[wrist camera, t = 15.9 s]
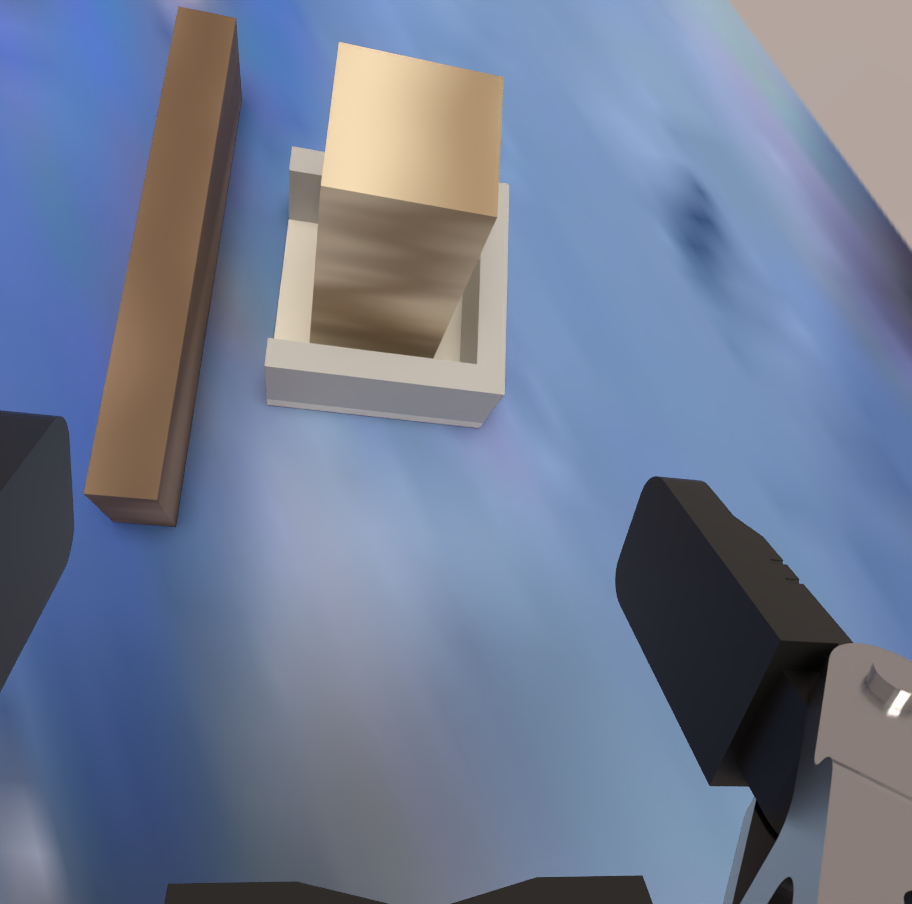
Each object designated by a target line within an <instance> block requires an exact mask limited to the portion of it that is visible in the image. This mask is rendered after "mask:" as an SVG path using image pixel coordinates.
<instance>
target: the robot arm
mask: <svg viewBox="0 0 912 904" xmlns="http://www.w3.org/2000/svg"><path fill="white" fill-rule="evenodd" d="M73 531H74V513H73V495H72V478H71V460H70V442H69V431H68V426H67V423H66V421H65V419H64V418H63V417H61V416H51V415H40V414H30V413H20V412H10V411H0V691H1V689H2V688H3V686H4V684H5V682H6V680H7V678H8V676H9V674H10V672H11V670H12V668H13V666H14V665H15V663H16V661H17V659H18V657H19V655H20V653H21V651H22V649H23V647H24V645H25V644H26V642H27V640H28V638H29V636H30V634H31V632H32V630H33V628H34V626H35V624H36V622H37V621H38V619H39V617H40V615H41V613H42V611H43V609H44V607H45V605H46V603H47V601H48V600H49V598H50V596H51V594H52V592H53V590H54V588H55V586H56V584H57V582H58V580H59V578H60V577H61V575H62V573H63V571H64V569H65V567H66V564H67V561H68V558H69V555H70V551H71V546H72V540H73ZM782 562H783V560H782V558H781V557H780V556H779V555H778V554H777V553H776V551H775V550H774V549H773V548H772V547H771V546H770V544H769V543H768V542H767V541H766V540H765V538H764V537H763V536H761V535H760V534H758V533H757V532H756V531H754V530H753V529H751V528H750V527H748V526H747V525H746V524H744V523H743V522H741V521H740V520H739V519H737V518H736V517H734V516H733V515H732V513H731V512H730V511H729V510H728V509H727V507H726V506H725V505H724V504H723V503H722V501H721V500H720V499H719V498H718V496H717V495H716V494H715V493H714V492H713V490H712V489H711V488H710V487H709V486H708V485H707V484H706V483H705V482H703V481H698V480H688V479H678V478H668V477H657V476H655V477H652V478H650V479H649V480H648V481H647V483H646V484H645V486H644V488H643V490H642V492H641V495H640V498H639V501H638V504H637V507H636V510H635V513H634V516H633V519H632V521H631V524H630V527H629V530H628V533H627V536H626V539H625V542H624V545H623V548H622V551H621V554H620V557H619V560H618V563H617V568H616V577H615V584H616V593H617V598H618V601H619V604H620V606H621V608H622V610H623V612H624V614H625V616H626V618H627V620H628V622H629V624H630V626H631V628H632V630H633V632H634V634H635V636H636V638H637V640H638V642H639V644H640V646H641V648H642V650H643V653H644V655H645V657H646V659H647V661H648V663H649V665H650V667H651V669H652V671H653V673H654V675H655V677H656V679H657V681H658V683H659V685H660V687H661V689H662V691H663V693H664V695H665V697H666V699H667V701H668V703H669V705H670V707H671V709H672V711H673V713H674V715H675V717H676V719H677V721H678V723H679V725H680V727H681V729H682V731H683V733H684V735H685V737H686V739H687V741H688V743H689V745H690V747H691V749H692V751H693V753H694V755H695V757H696V760H697V762H698V764H699V766H700V768H701V770H702V772H703V774H704V776H705V778H706V780H707V782H708V784H709V786H749V787H750V789H751V791H752V793H753V795H754V798H753V800H752V802H751V804H750V806H749V807H748V809H747V811H746V813H745V816H744V819H743V823H742V827H741V831H740V835H739V840H738V844H737V848H736V852H735V856H734V860H733V864H732V868H731V873H730V877H729V881H728V885H727V889H726V893H725V897H724V901H723V904H912V661H910V660H908V659H906V658H904V657H902V656H900V655H898V654H896V653H893V652H891V651H888V650H886V649H883V648H879V647H876V646H872V645H867V644H860V643H853V642H852V641H851V639H850V638H849V637H848V636H847V635H846V634H845V632H844V631H843V630H842V629H841V628H840V627H839V625H838V624H837V623H836V622H835V621H834V619H833V618H832V617H831V616H830V615H829V614H828V612H827V611H826V610H825V609H824V608H823V607H822V605H821V604H820V603H819V602H818V601H817V600H816V598H815V597H814V596H813V595H812V594H811V592H810V591H809V590H808V589H807V588H806V587H805V585H804V584H799V578H798V577H797V576H796V575H795V574H794V573H793V571H792V570H791V569H790V568H789V567H788V565H785V564H783V563H782ZM164 904H387V903H383V902H379V901H375V900H370V899H366V898H362V897H358V896H354V895H350V894H346V893H341V892H337V891H333V890H329V889H325V888H321V887H316V886H312V885H308V884H304V883H300V882H249V883H192V884H168V888H167V893H166V898H165V903H164ZM452 904H653V903H652V901H651V898H650V895H649V892H648V890H647V887H646V884H645V881H644V879H643V876H590V877H537V878H533V879H530V880H527V881H524V882H520V883H517V884H514V885H511V886H507V887H504V888H501V889H498V890H495V891H491V892H488V893H485V894H482V895H478V896H475V897H472V898H469V899H465V900H462V901H459V902H456V903H452Z"/></svg>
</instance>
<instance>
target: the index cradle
mask: <svg viewBox="0 0 912 904" xmlns="http://www.w3.org/2000/svg"><path fill="white" fill-rule="evenodd" d="M324 156H325V152H321V151H316V150H310V149H304V148H299V147H293V146H292V152H291V160H290V168H289V222H288V230H287V238H286V246H285V254H284V262H283V271H282V279H281V287H280V295H279V303H278V311H277V319H276V327H275V335H274V339H273V338H268V342H267V350H266V358H265V366H264V367H265V382H266V398H267V405H273V406H282V407H291V408H301V409H310V410H319V411H328V412H337V413H346V414H355V415H364V416H373V417H382V418H391V419H401V420H410V421H419V422H428V423H437V424H446V425H455V426H464V427H473V428H480V427H481V425H482V424H483V423H484V421H485V420H486V419H487V417H488V416H489V415H490V413H491V412H492V411H493V409H494V408H495V407H496V405H497V404H498V403H499V401H500V400H501V399H502V398H503V396H504V395H505V353H506V306H507V260H508V214H509V184H505V183H499V191H498V214H497V219H496V221H495V224H494V226H493V228H492V230H491V232H490V235H489V237H488V239H487V241H486V243H485V246H484V248H483V250H482V252H481V254H480V257H479V259H478V261H477V263H476V265H475V268H474V270H473V272H472V274H471V276H470V279H469V281H468V283H467V285H466V287H465V290H464V292H463V294H462V296H461V298H460V301H459V303H458V305H457V307H456V309H455V312H454V314H453V316H452V318H451V320H450V323H449V325H448V327H447V329H446V331H445V334H444V336H443V338H442V340H441V342H440V345H439V347H438V349H437V351H436V353H435V356H434V358H433V359H431V358H424V357H416V356H408V355H400V354H392V353H384V352H376V351H368V350H360V349H352V348H344V347H337V346H329V345H321V344H313V343H309V342H310V328H311V314H312V300H313V286H314V272H315V259H316V245H317V231H318V217H319V203H320V189H321V180H322V172H323V164H324Z"/></svg>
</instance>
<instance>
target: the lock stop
mask: <svg viewBox="0 0 912 904" xmlns="http://www.w3.org/2000/svg"><path fill="white" fill-rule="evenodd" d="M502 99H503V77H500V76H495V75H491V74H486V73H481V72H477V71H472V70H467V69H463V68H458V67H453V66H449V65H444V64H439V63H435V62H430V61H426V60H421V59H416V58H412V57H407V56H402V55H398V54H393V53H388V52H384V51H379V50H374V49H370V48H365V47H360V46H356V45H351V44H346V43H342V42H339V47H338V55H337V63H336V70H335V78H334V86H333V94H332V102H331V109H330V117H329V125H328V133H327V141H326V148H325V156H324V164H323V172H322V180H321V189H320V203H319V217H318V231H317V245H316V259H315V272H314V286H313V300H312V314H311V328H310V342H309V343H313V344H321V345H329V346H337V347H344V348H352V349H360V350H368V351H376V352H384V353H392V354H400V355H408V356H416V357H424V358H431V359H433V358H434V356H435V353H436V351H437V349H438V347H439V345H440V342H441V340H442V338H443V336H444V334H445V331H446V329H447V327H448V325H449V323H450V320H451V318H452V316H453V314H454V312H455V309H456V307H457V305H458V303H459V301H460V298H461V296H462V294H463V292H464V290H465V287H466V285H467V283H468V281H469V279H470V276H471V274H472V272H473V270H474V268H475V265H476V263H477V261H478V259H479V257H480V254H481V252H482V250H483V248H484V246H485V243H486V241H487V239H488V237H489V235H490V232H491V230H492V228H493V226H494V224H495V221H496V219H497V214H498V191H499V168H500V145H501V122H502Z"/></svg>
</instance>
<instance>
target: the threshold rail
mask: <svg viewBox="0 0 912 904" xmlns="http://www.w3.org/2000/svg"><path fill="white" fill-rule="evenodd" d="M241 101H242V93H241V79H240V66H239V52H238V39H237V25H236V18H233V17H228V16H223V15H218V14H213V13H208V12H203V11H198V10H193V9H188V8H183V7H179V6H178V11H177V16H176V21H175V26H174V31H173V37H172V42H171V47H170V52H169V57H168V62H167V67H166V73H165V78H164V83H163V88H162V93H161V98H160V103H159V109H158V114H157V119H156V124H155V129H154V134H153V139H152V145H151V150H150V155H149V160H148V165H147V170H146V175H145V181H144V186H143V191H142V196H141V201H140V206H139V211H138V217H137V222H136V227H135V232H134V237H133V242H132V247H131V253H130V258H129V263H128V268H127V273H126V278H125V283H124V289H123V294H122V299H121V304H120V309H119V314H118V319H117V325H116V330H115V335H114V340H113V345H112V350H111V355H110V361H109V366H108V371H107V376H106V381H105V386H104V391H103V397H102V402H101V407H100V412H99V417H98V422H97V427H96V433H95V438H94V443H93V448H92V453H91V458H90V463H89V469H88V474H87V479H86V484H85V489H84V495H85V496H87V497H88V498H89V499H90V500H91V501H92V502H93V503H94V504H95V505H96V506H97V507H98V508H99V509H100V510H101V511H102V512H103V513H104V514H106V515H107V516H108V517H109V518H110V519H111V520H112V521H113V522H121V523H134V524H147V525H160V526H172V527H176V522H177V515H178V509H179V502H180V496H181V489H182V483H183V476H184V470H185V463H186V457H187V450H188V444H189V437H190V431H191V424H192V418H193V412H194V405H195V399H196V392H197V386H198V379H199V373H200V366H201V360H202V353H203V347H204V340H205V334H206V327H207V321H208V314H209V308H210V301H211V295H212V288H213V282H214V275H215V269H216V263H217V256H218V250H219V243H220V237H221V230H222V224H223V217H224V211H225V204H226V198H227V191H228V185H229V178H230V172H231V165H232V159H233V152H234V146H235V139H236V133H237V126H238V120H239V114H240V107H241Z"/></svg>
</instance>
